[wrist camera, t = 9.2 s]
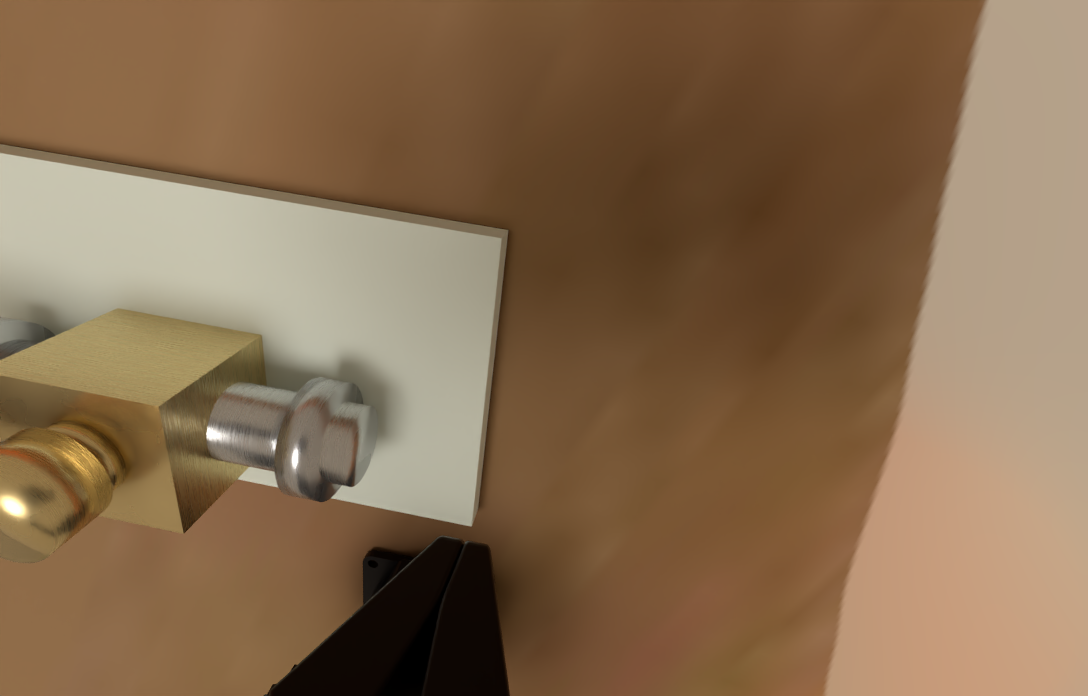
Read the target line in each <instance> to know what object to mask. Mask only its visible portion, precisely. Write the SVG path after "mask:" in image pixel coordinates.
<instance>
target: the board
mask: <svg viewBox="0 0 1088 696" xmlns="http://www.w3.org/2000/svg"><path fill="white" fill-rule="evenodd" d="M507 238H508V230H505V229H499V228H493V227H487V226H481V225H475V224H469V223H464V222H458V221H452V220H446V219H440V218H434V217H428V216H422V215H416V214H410V213H404V212H399V211H393V210H387V209H381V208H375V207H369V206H363V205H357V204H351V203H345V202H340V201H334V200H328V199H322V198H316V197H310V196H304V195H298V194H292V193H286V192H281V191H275V190H269V189H263V188H257V187H251V186H245V185H239V184H233V183H227V182H221V181H216V180H210V179H204V178H198V177H192V176H186V175H180V174H174V173H168V172H162V171H157V170H151V169H145V168H139V167H133V166H127V165H121V164H115V163H109V162H103V161H98V160H92V159H86V158H80V157H74V156H68V155H62V154H56V153H50V152H44V151H38V150H33V149H27V148H21V147H15V146H9V145H3V144H0V317H5V318H11V319H16V320H21V321H27V322H32V323H36V324H39V325H42V326H43V327H45V328H47V329H49V330H50V331H51V332H53V333H54V334H55V335H58V334H61V333H63V332H65V331H67V330H70V329H72V328H74V327H76V326H79V325H81V324H83V323H85V322H88V321H90V320H92V319H94V318H97V317H99V316H101V315H103V314H106V313H108V312H110V311H112V310H115V309H117V308H120V309H125V310H131V311H136V312H141V313H147V314H152V315H157V316H163V317H168V318H174V319H179V320H184V321H190V322H195V323H200V324H206V325H211V326H217V327H222V328H227V329H233V330H238V331H243V332H249V333H254V334H260V335H262V341H263V352H264V362H265V373H266V383H267V386H270V387H275V388H280V389H285V390H290V391H296V392H298V391H299V390H300V389H301V388H302V387H303V386H304V385H305V384H306V383H307V382H308V381H310V380H311V379H313V378H316V377H322V378H327V379H333V380H338V381H343V382H348V383H353V384H355V385H357V386H358V388H359V389H360V391H361V394H362V398H363V405H369V406H373V407H374V408H375V409H376V412H377V415H378V433H377V440H376V445H375V449H374V453H373V456H372V459H371V462H370V464H369V467H368V469H367V471H366V473H365V475H364V476H363V478H362V479H361V481H360V482H359V483H358V484H357V485H356V486H354V487H348V486H343V485H342V486H341V487H340V489H339V490H338V491H337V492H336V493H335V495H334V496H333V497H331V498H333V499H338V500H343V501H348V502H353V503H358V504H363V505H367V506H372V507H377V508H382V509H387V510H392V511H397V512H402V513H407V514H412V515H417V516H422V517H427V518H432V519H436V520H441V521H446V522H451V523H456V524H461V525H466V526H471V527H472V524H473V522H474V519H475V516H476V513H477V510H478V505H479V496H480V487H481V478H482V468H483V459H484V450H485V441H486V432H487V422H488V413H489V404H490V395H491V386H492V376H493V367H494V358H495V349H496V340H497V330H498V321H499V312H500V303H501V294H502V284H503V275H504V266H505V257H506V248H507ZM238 479H239V480H244V481H249V482H254V483H259V484H264V485H269V486H274V487H278V485H277V482H276V479H275V472H273V471H268V470H263V469H258V468H253V467H249V468H248V469H247V470H246V471H245V472H244V473H243V474H242V475H241V476H240V477H239V478H238Z"/></svg>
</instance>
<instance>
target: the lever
mask: <svg viewBox="0 0 1088 696" xmlns="http://www.w3.org/2000/svg"><path fill="white" fill-rule="evenodd" d="M112 496H113V489H112V484H111V481H110V478H109V476H108V474H107V472H106V470H105V469H104V467H103V466H102V464H101V463H100V462H99V460H98V459H97V458H96V457H95V456H94V455H93V454H92V453H91V452H90V451H89V450H88V449H86V448H85V447H84V446H83V445H81V444H80V443H78V442H77V441H75V440H74V439H72V438H70V437H68V436H66V435H64V434H62V433H59V432H57V431H54V430H50V429H45V428H27V429H24V430H21V431H19V432H17V433H16V434H14V435H12V436H10V437H9V438H7V439H5V440H3V441H2V442H0V558H3V559H6V560H9V561H13V562H19V563H35V562H39V561H42V560H44V559H46V558H47V557H48V556H50V555H51V554H52V553H53V552H55V551H56V550H57V549H58V548H59V547H61V546H62V545H63V544H64V543H66V542H67V541H68V540H69V539H70V538H72V537H73V536H74V535H75V534H76V533H78V532H79V531H80V530H81V529H83V528H84V527H85V526H86V525H87V524H89V523H90V522H91V521H92V520H94V519H95V518H96V517H97V516H98V515H100V514H101V513H102V512H103V511H105V510H106V509H107V508H108V506H109V505H110V503H111V500H112Z"/></svg>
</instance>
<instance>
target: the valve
mask: <svg viewBox="0 0 1088 696" xmlns="http://www.w3.org/2000/svg"><path fill="white" fill-rule="evenodd" d="M27 428H45V429H50V430H54V431H57V432H59V433H62V434H64V435H66V436H68V437H70V438H72V439H74V440H75V441H77V442H78V443H80V444H81V445H83V446H84V447H85V448H86V449H88V450H89V451H90V452H91V453H92V454H93V455H94V456H95V457H96V458H97V459H98V460H99V462H100V463H101V464H102V466H103V467H104V469H105V470H106V472H107V474H108V476H109V478H110V481H111V484H112V489H113V496H112V500H111V503H110V505H109V506H108V508H107V509H106V510H105V511H103V512H102V513H101V514H100V515H98V516H102V517H106V518H111V519H116V520H121V521H125V522H130V523H135V524H140V525H144V526H149V527H154V528H159V529H163V530H168V531H173V532H178V533H182V534H184V533H185V532H186V531H187V530H188V529H189V528H190V527H191V526H192V525H193V524H194V523H195V522H196V521H197V520H198V519H199V518H200V517H201V516H202V515H203V514H204V513H205V512H206V510H207V509H208V508H209V507H210V506H211V505H212V504H213V503H214V502H215V501H216V500H217V499H218V498H219V497H220V496H221V495H222V494H223V493H224V492H225V491H226V490H227V489H228V488H229V487H230V486H231V485H232V484H233V483H234V482H235V481H236V480H237V479H238V478H239V477H240V476H241V475H242V474H243V473H244V472H245V471H246V470H247V469H248V468H249V467H253V468H258V469H263V470H268V471H273V472H275V479H276V482H277V485H278V487H279V489H280V490H281V492H283V493H284V494H286V495H289V496H294V497H299V498H304V499H309V500H314V501H319V502H324V501H327V500H329V499H330V498H331V497H333V496H334V495H335V493H336V492H337V491H338V490H339V489H340V487H341V486H342V485H343V486H348V487H354V486H356V485H357V484H358V483H359V482H360V481H361V479H362V478H363V476H364V475H365V473H366V471H367V469H368V467H369V464H370V462H371V459H372V456H373V453H374V449H375V445H376V440H377V433H378V415H377V412H376V409H375V408H374V407H373V406H369V405H363V398H362V394H361V391H360V389H359V388H358V386H357V385H355V384H353V383H348V382H343V381H338V380H333V379H327V378H322V377H316V378H313V379H311V380H310V381H308V382H307V383H306V384H305V385H304V386H303V387H302V388H301V389H300V390H299V391H298V392H296V391H290V390H285V389H280V388H275V387H270V386H267V383H266V373H265V362H264V352H263V341H262V335H260V334H254V333H249V332H243V331H238V330H233V329H227V328H222V327H217V326H211V325H206V324H200V323H195V322H190V321H184V320H179V319H174V318H168V317H163V316H157V315H152V314H147V313H141V312H136V311H131V310H125V309H120V308H117V309H115V310H112V311H110V312H108V313H106V314H103V315H101V316H99V317H97V318H94V319H92V320H90V321H88V322H85V323H83V324H81V325H79V326H76V327H74V328H72V329H70V330H67V331H65V332H63V333H61V334H58V335H55V334H54V333H53V332H51V331H50V330H49V329H47V328H45V327H43V326H42V325H39V324H36V323H32V322H27V321H21V320H16V319H11V318H5V317H0V438H1V441H3V440H5V439H7V438H9V437H10V436H12V435H14V434H16V433H17V432H19V431H21V430H24V429H27Z"/></svg>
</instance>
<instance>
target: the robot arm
mask: <svg viewBox="0 0 1088 696" xmlns="http://www.w3.org/2000/svg"><path fill="white" fill-rule="evenodd" d="M264 696H510V693H509V685H508V678H507V670H506V663H505V655H504V648H503V640H502V633H501V625H500V618H499V610H498V603H497V595H496V588H495V579H494V573H493V565H492V558H491V550H490V547H489V546H488V545H487V544H482V543H478V542H473V541H467V542H465V544H464V541H463V540H462V539H458V538H453V537H448V536H439V537H438V538H436V539H435V540H434V541H433V542H432V543H431V544H430V545H429V546H428V547H427V548H425V549H424V550H423V551H422V552H421V553H420V554H419V555H418V556H417V557H416V558H410V557H406V556H401V555H396V554H391V553H386V552H382V551H377V550H371V551H369V552H368V553H367V554H366V556H365V558H364V560H363V606H362V607H361V608H360V609H358V610H357V611H356V612H355V613H354V614H353V615H352V616H351V617H350V618H349V619H347V620H346V621H345V622H344V623H343V624H342V625H341V626H340V627H339V628H338V629H337V630H335V631H334V632H333V633H332V634H331V635H330V636H329V637H328V638H327V639H326V640H324V641H323V642H322V643H321V644H320V645H319V646H318V647H317V648H316V649H315V650H313V651H312V652H311V653H310V654H309V655H308V656H307V657H306V658H305V659H304V660H302V661H301V662H300V663H299V664H298V665H296V664H295V665H294V666H293V668H292V669H291V671H290V672H289V673H288V674H287V675H286V676H285V677H284V678H283V679H282V680H280V681H279V682H278V683H277V684H273V685H272V687H271V688H270V690H269V692H268V694H265V695H264Z"/></svg>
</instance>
